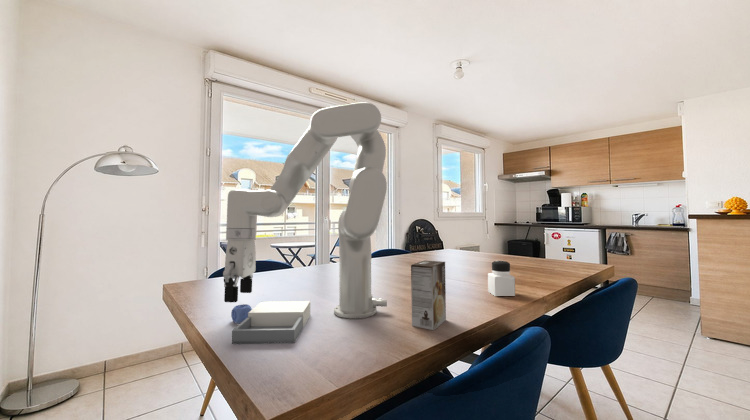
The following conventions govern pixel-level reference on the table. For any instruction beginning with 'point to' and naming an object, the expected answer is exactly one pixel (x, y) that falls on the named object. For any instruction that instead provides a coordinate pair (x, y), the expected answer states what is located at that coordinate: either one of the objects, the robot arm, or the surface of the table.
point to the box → (266, 333)
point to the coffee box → (428, 294)
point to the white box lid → (279, 313)
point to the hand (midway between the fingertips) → (238, 297)
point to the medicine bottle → (501, 280)
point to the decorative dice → (240, 313)
